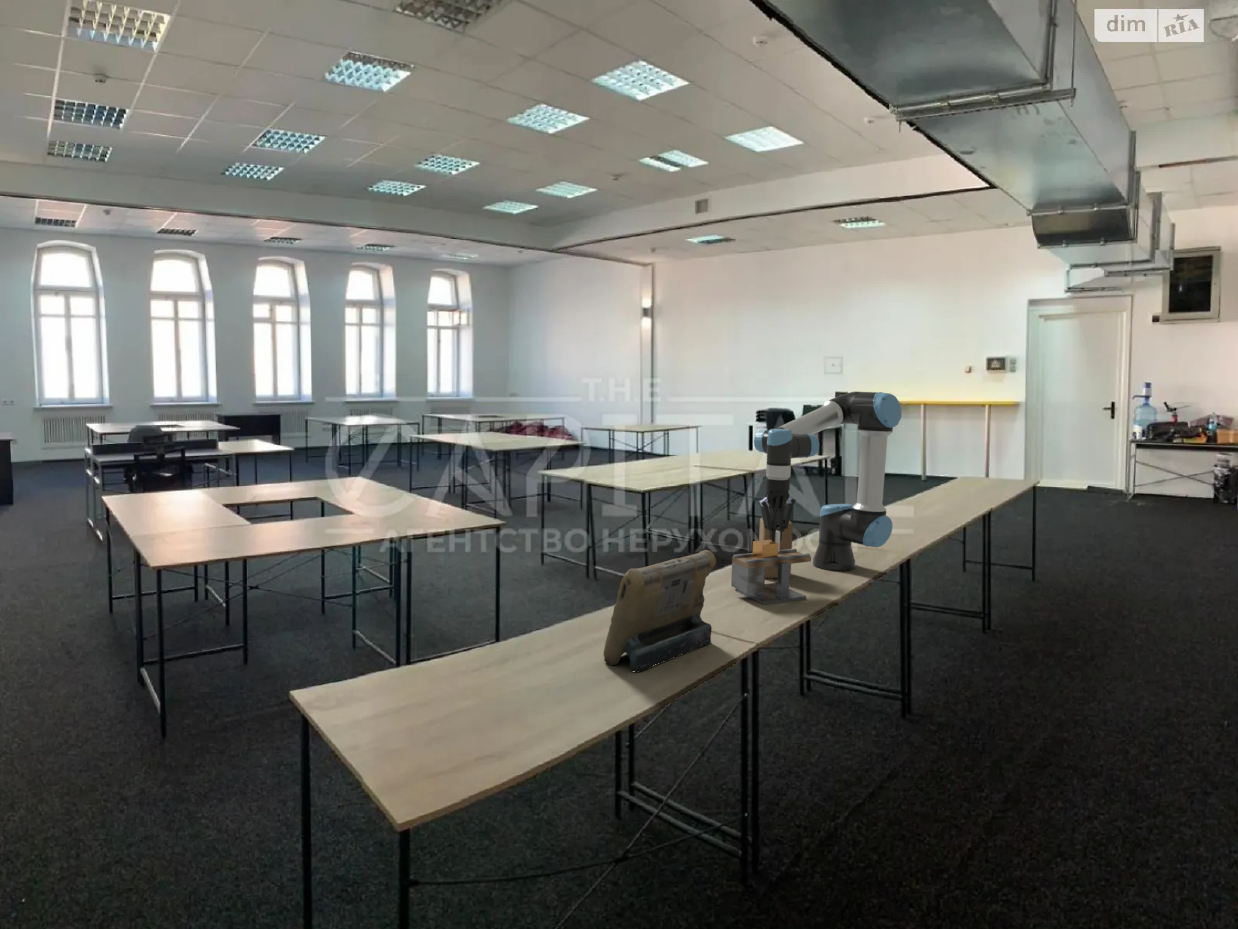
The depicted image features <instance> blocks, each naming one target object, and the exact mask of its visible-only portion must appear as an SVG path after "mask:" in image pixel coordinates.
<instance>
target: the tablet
mask: <svg viewBox="0 0 1238 929" xmlns="http://www.w3.org/2000/svg"><path fill="white" fill-rule="evenodd" d="M716 564H717V559H716V557H715V554H714V553H713V552H711V551H710V550H709V549H708V550H707V549H703V550H700V551H698V553H693V554H690V555H689V554H688V555H687V556H682V557H679V558H672V559H670V560H666V561H662V562H658V563H655V564H652V565H651V564H650V565H648V566H644V567H639V568H638V567H637V568H629V569H628V570H627V571H626V572H625V573H624V575H623V577H622V580H621V582H620V584H619V589H618V591H617V599H616V603H615V604H614V607H613V612H612V616H611V618H610V625H609V627H608V633H607V636H606V640H605V643H604V649H603V659H604V660H603V661H604V662H605V663H606V664H607V665H609V664H610V665H609V666H615V665H617V664H619V662H620V659H621V657H622V656H623V654H625V653H626V656H628V658H629V671H630V672H632V671H635V672H636V673H638V672H637V671H640V672H644V671H646V670H648V669H650V668H649V667H651V668H653V667H654V666H653V665H655V664H658V663H661V662H663V661H666V662H669V661H670V660H669V659H671V658H673V657H676V658H678V657H677V656H679V655H681V654H684V655H686V654H688V653H691V652H692V651H691V650H693V651H695V650H698V649H701V648H702V647H705V646H707V645H709V644H711V642H712V640H711V639H712V638H711V636H712V630H713V629H712V625H711V624H710V623H708V622H705V621H704V620H702V616H701V613H702V610H703V608H704V602H705V596H704V588H705V585H706V578H707V577H708V576H709V575H710V573H711V572H712V570H713V569H714V567H715V566H716ZM690 651H691V652H690ZM687 652H688V653H687ZM685 653H686V654H685ZM681 656H682V655H681ZM679 657H680V656H679ZM668 660H669V661H668ZM671 660H672V659H671ZM663 663H664V662H663ZM661 664H662V663H661ZM658 665H659V664H658ZM652 666H653V667H652ZM635 672H634V673H635Z"/></svg>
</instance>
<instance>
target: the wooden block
mask: <svg viewBox="0 0 1238 929" xmlns="http://www.w3.org/2000/svg"><path fill="white" fill-rule="evenodd" d="M758 532H759V536H758V537H759V539H758V541H762V540H769V536H770V531H769V530H767V529H765V528H764V523H763V517H762V516H761V517H760V519H759V531H758ZM793 532H794V524H793V522H792V521H790V520H789V524H788V528H787V529H784V532H782V539H781V541H780V550H786V549H793V534H794V533H793ZM791 573H792V564H790V574H789V579H790V578H791V575H792V574H791ZM774 578H778V568H776V567H774V566H767V567H765V579H774Z"/></svg>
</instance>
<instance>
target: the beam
mask: <svg viewBox="0 0 1238 929" xmlns="http://www.w3.org/2000/svg"><path fill="white" fill-rule="evenodd" d="M797 550H798V549H797V548H792V549H786V550H779V552H778V557H770V558H761V559H757V558H755V557H753V552H751V553H749V552H748V553H740V554H733V556H732V557H731V583H730V584H731V585H730V586H731V587H733V588H734V589H735V590H736V589H738V590H740V591H742V592H744V593H747V594H749V593H757V592H763V584H765V583H764V567H767V566H774V567H776V568H778V563H783V562H787V563H789V564H791V565H792V564H801V563H802V564H803V563H808V562H809V563H810V562H812V556H811V553H802V552H800V551H797Z"/></svg>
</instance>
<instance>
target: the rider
mask: <svg viewBox="0 0 1238 929" xmlns="http://www.w3.org/2000/svg"><path fill="white" fill-rule="evenodd" d="M752 553H753V557H755V558H757V559H761V558H770V557H778V543H776V542H772V541H770V540H762V541H759V540H754V541H752Z"/></svg>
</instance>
